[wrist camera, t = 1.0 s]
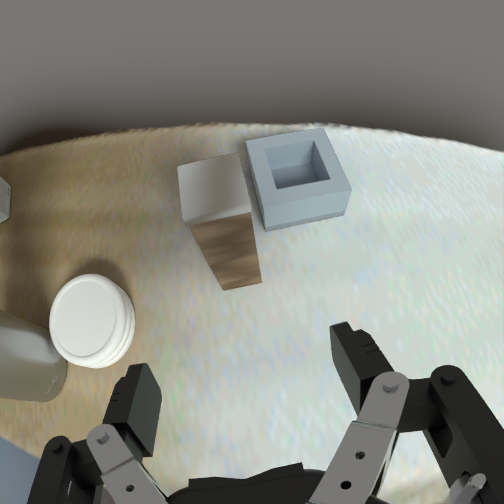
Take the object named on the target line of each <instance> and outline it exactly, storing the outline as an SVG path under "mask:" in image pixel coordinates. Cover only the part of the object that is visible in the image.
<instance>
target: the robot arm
mask: <svg viewBox="0 0 504 504" xmlns="http://www.w3.org/2000/svg"><path fill="white" fill-rule="evenodd" d="M330 339H331V350H332V357H333V362H334V365H335V367H336V370H337V372H338V374H339V376H340V378H341V381H342V383H343V385H344V387H345V389H346V392H347V394H348V396H349V398H350V401H351V403H352V405H353V407H354V410H355V412H356V414H357V416H358V418H357V420H356V421H352V422H351V424H350V425H349V427H348V429H347V432H346V434H345V436H344V438H343V440H342V442H341V444H340V446H339V448H338V450H337V452H336V454H335V455H334V457H333V459H332V461H331V463H330V465H329V467H328V469H327V470H326V471H321V470H314V469H303V465H302V462H300V463H296V464H292V465H287V466H282V467H277V468H273V469H270V470H268V471H265V472H263V473H260V474H258V475H255V476H252V477H250V478H247V479H234V478H223V477H208V478H196V479H189V487H186V488H183V489H180V490H178V491H177V492H175V493H173V494H172V495H170V496H168V495H167V494H166V493H165V492H164V490H163V489H162V488H161V487H160V485H159V484H158V483H157V482H156V480H155V479H154V478H153V477H152V475H151V474H150V473H149V471H148V470H147V469H146V467H145V466H144V465H143V464H142V460H143V457H152V456H153V450H154V443H155V437H156V431H157V425H158V419H159V413H160V407H161V402H162V395H161V390H160V387H159V385H158V383H157V382H156V380H155V378H154V376H153V374H152V372H151V370H150V368H149V366H148V364H147V363H141V364H134V365H130V366H129V368H128V371H127V374H126V377H121V379H120V380H119V381H118V382H117V383H116V385H115V387H114V390H113V393H112V395H111V398H110V402H109V404H108V407H107V410H106V413H105V416H104V419H103V422H102V424H101V425H98V426H96V427H94V428H93V429H92V430H91V431H90V432H89V434H88V436H87V439H85V440H81V441H78V442H74V443H71V441H70V440H69V439H68V438H67V437H65V436H57V437H54V438H52V439H51V440H50V441H49V442H48V443H47V444H46V446H45V448H44V451H43V454H42V457H41V460H40V463H39V466H38V469H37V472H36V475H35V478H34V482H33V485H32V488H31V491H30V495H29V498H28V502H27V504H100V503H101V496H102V490H103V484H105V486H106V488H107V489H108V491H109V493H110V494H111V496H112V498H113V500H114V501H115V503H116V504H389V503H387V502H385V501H383V500H381V499H379V498H377V496H378V494H379V491H380V489H381V487H382V484H383V482H384V479H385V476H386V473H387V470H388V467H389V464H390V461H391V459H392V456H393V453H394V450H395V448H396V445H397V442H398V439H399V436H400V433H403V432H413V431H421V430H422V431H423V433H424V435H425V437H426V439H427V441H428V444H429V446H430V448H431V450H432V452H433V454H434V456H435V458H436V460H437V462H438V465H439V467H440V469H441V471H442V473H443V475H444V478H445V480H446V482H447V484H448V487H449V491H448V492H447V494H446V495H445V497H444V499H443V500H442V503H441V504H504V429H503V428H502V426H501V425H500V423H499V422H498V420H497V419H496V417H495V416H494V414H493V413H492V411H491V410H490V408H489V407H488V406H487V404H486V403H485V401H484V400H483V398H482V397H481V396H480V394H479V393H478V391H477V390H476V389H475V387H474V386H473V385H472V383H471V382H470V380H469V379H468V378H467V376H466V375H465V374H464V372H463V371H462V370H461V369H460V368H458V367H456V366H452V365H444V366H440V367H438V368H436V369H435V370H434V371H433V372H432V374H431V377H430V378H424V379H408V378H407V377H406V376H405V375H403V374H401V373H399V372H395V371H394V370H393V368H392V367H391V365H390V364H389V362H388V361H387V359H386V358H385V356H384V355H383V353H382V352H381V350H379V347H378V346H377V344H375V341H374V340H373V338H372V337H371V335H370V334H368V333H367V332H365V331H363V330H361V329H360V330H357V331H353V330H352V328H351V327H350V325H349V323H348V322H347V321H346V322H342V323H339V324H335V325H331V326H330ZM66 371H67V361H66V359H65V358H64V357H63V356H62V355H61V354H60V353H59V352H58V351H57V349H56V348H55V346H54V344H53V341H52V338H51V335H50V330H48V329H46V328H44V327H41V326H38V325H36V324H33V323H31V322H28V321H26V320H24V319H21V318H19V317H16V316H14V315H12V314H9V313H7V312H5V311H2V310H0V398H6V399H15V400H25V401H37V402H45V401H49V400H51V399H53V398H54V397H55V396H56V395H58V393H59V392H60V390H61V389H62V387H63V384H64V382H65V378H66ZM70 480H71V481H72V484H71V488H70V492H69V497H68V494H67V493H68V487H69V483H70Z"/></svg>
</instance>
